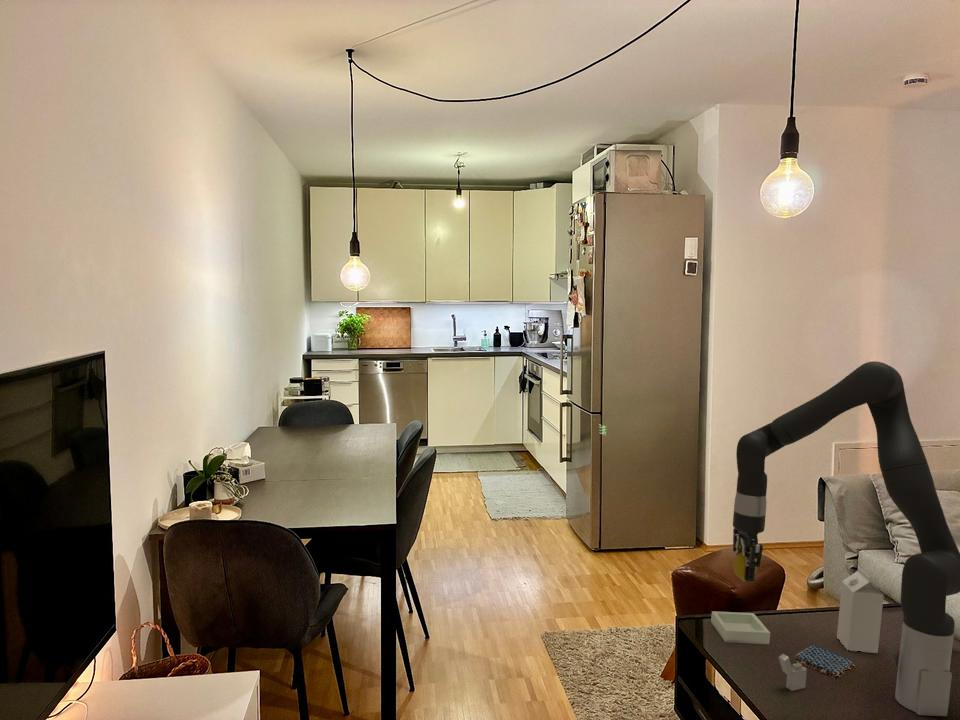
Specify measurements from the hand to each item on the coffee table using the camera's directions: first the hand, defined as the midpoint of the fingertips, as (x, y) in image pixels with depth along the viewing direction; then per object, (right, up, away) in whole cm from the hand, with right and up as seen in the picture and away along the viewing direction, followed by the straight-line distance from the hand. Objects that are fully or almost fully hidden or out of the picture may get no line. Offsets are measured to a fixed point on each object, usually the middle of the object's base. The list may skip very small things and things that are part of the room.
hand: (744, 575), depth 184 cm
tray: (-1, -15, +1) cm, 15 cm away
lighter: (+1, -18, -24) cm, 30 cm away
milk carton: (+27, -17, -2) cm, 32 cm away
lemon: (0, -2, 0) cm, 2 cm away
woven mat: (+14, -18, -12) cm, 26 cm away
